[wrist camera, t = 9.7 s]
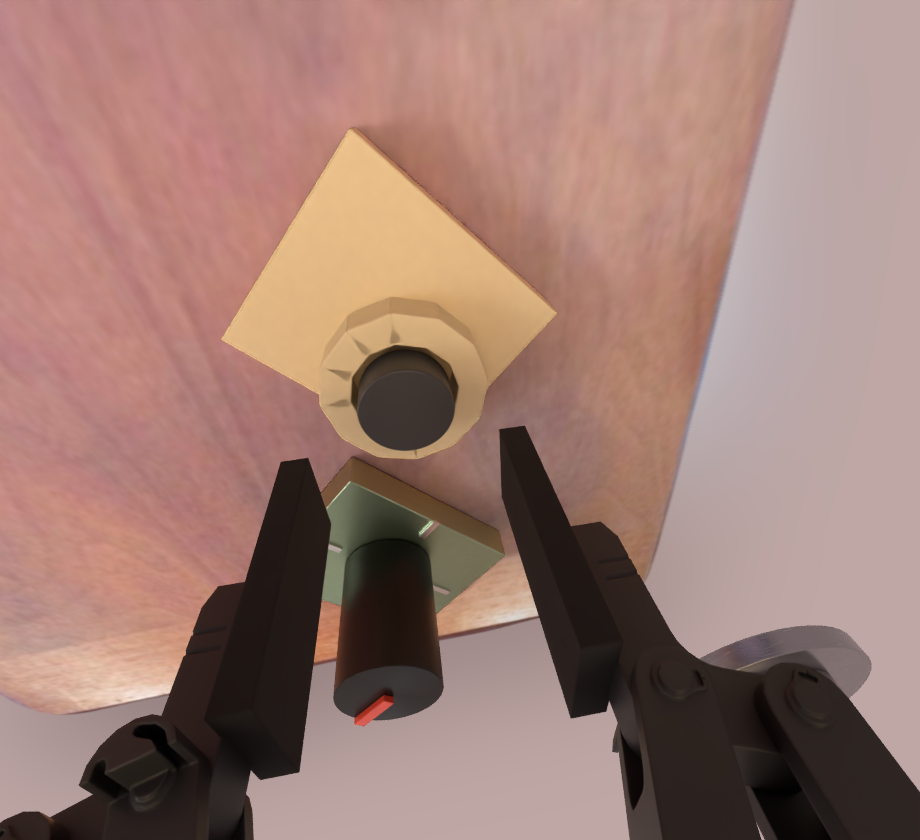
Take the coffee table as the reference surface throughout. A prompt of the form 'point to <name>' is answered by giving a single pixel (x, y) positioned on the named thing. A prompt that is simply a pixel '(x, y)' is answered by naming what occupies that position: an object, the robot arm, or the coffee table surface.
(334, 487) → the dial panel
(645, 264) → the coffee table surface
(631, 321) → the coffee table surface
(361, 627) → the knob
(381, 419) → the button
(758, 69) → the coffee table surface
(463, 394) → the button box
